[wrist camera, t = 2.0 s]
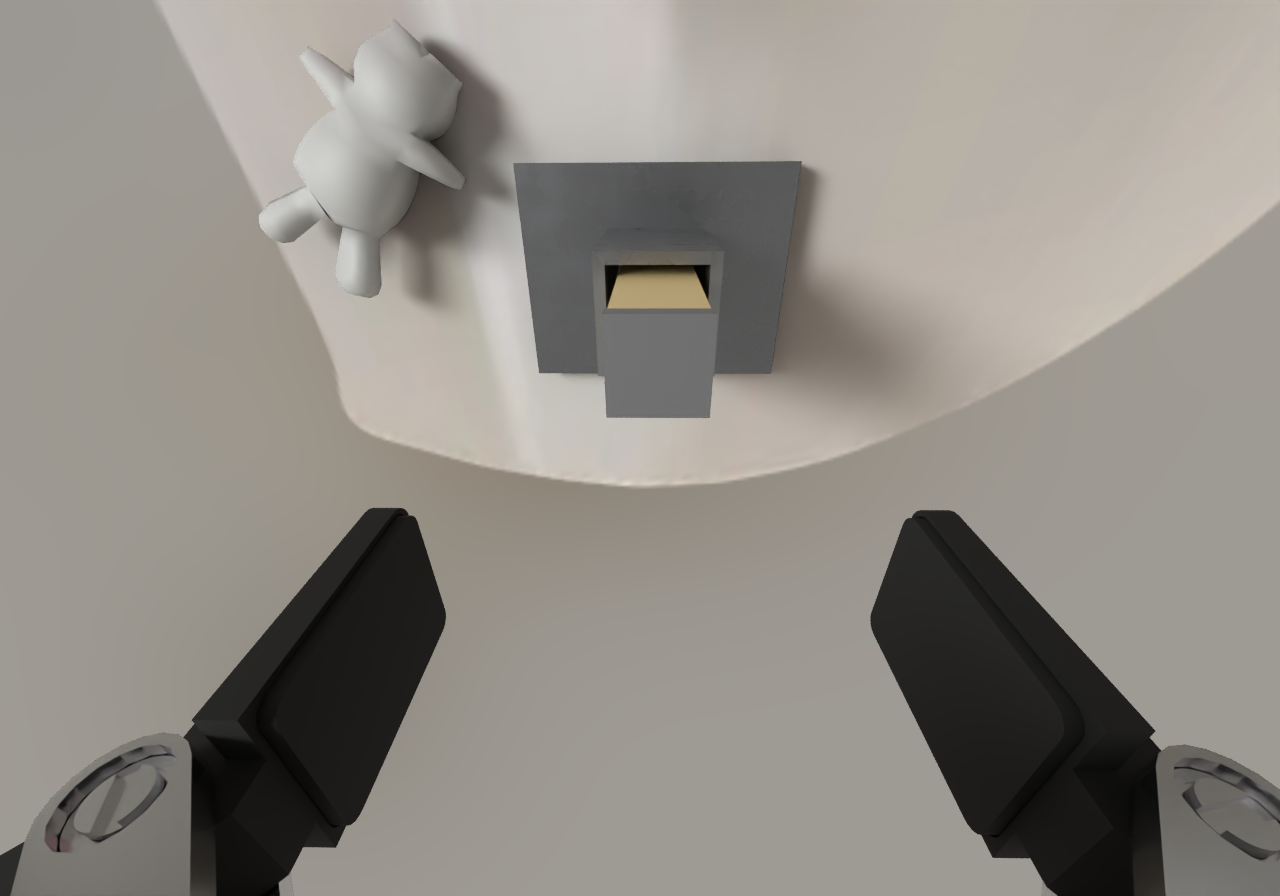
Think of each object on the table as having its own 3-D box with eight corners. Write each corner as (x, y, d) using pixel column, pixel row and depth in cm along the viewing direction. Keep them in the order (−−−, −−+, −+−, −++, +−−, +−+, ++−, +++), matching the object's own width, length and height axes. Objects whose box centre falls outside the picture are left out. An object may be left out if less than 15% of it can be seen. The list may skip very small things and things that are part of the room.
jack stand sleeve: (794, 161, 30) (872, 157, 20) (766, 366, 37) (811, 443, 27) (519, 163, 31) (449, 160, 20) (543, 365, 38) (501, 442, 27)
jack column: (686, 247, 31) (717, 314, 17) (684, 313, 34) (709, 422, 19) (624, 248, 31) (601, 314, 17) (625, 313, 34) (606, 421, 19)
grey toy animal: (490, 110, 26) (361, 318, 30) (509, 127, 31) (394, 306, 35) (327, -45, 23) (209, 211, 27) (374, 0, 28) (267, 213, 32)
